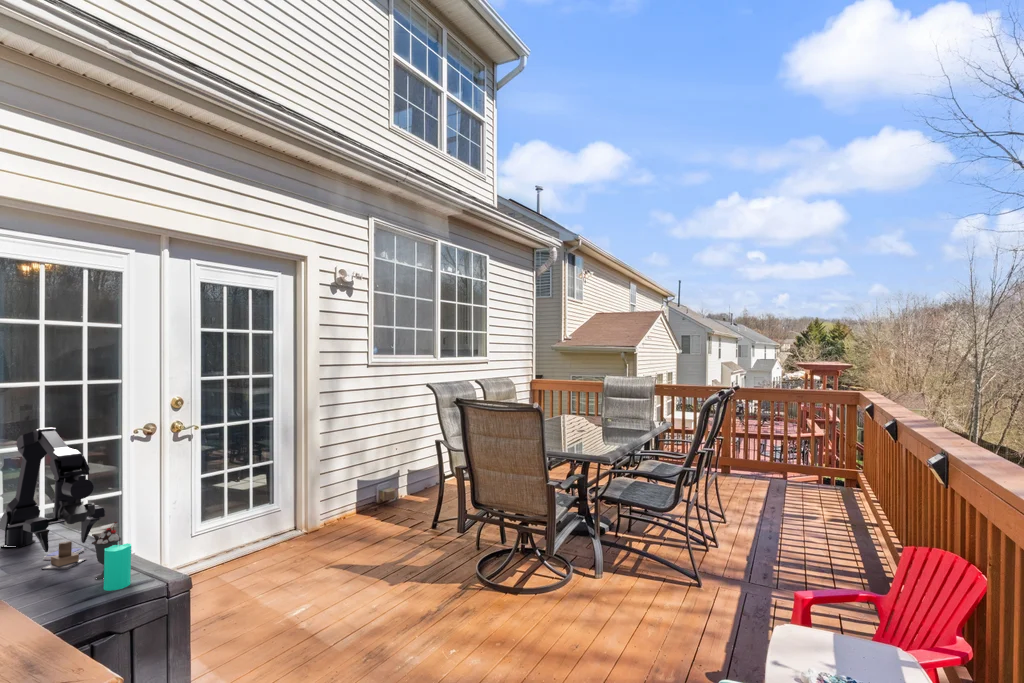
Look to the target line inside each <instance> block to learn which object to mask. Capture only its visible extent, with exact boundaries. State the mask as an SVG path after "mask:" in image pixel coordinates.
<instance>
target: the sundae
mask: <svg viewBox="0 0 1024 683" xmlns="http://www.w3.org/2000/svg"><path fill="white" fill-rule="evenodd" d="M117 523H118V521H114V522H113V525H111V526H110V527H107V528H106V530H103V531H102V532H100V533H99V535H98V534H93V538H94V541H92V542H91V544H92V545H93V546H94V547H95V554H96V560H97V562H98V563H99V564H101V565H102V566H104V554H105V548H109V547H111V546H113V545H118V541H119V542H120V541H122V537H121V536H119V534H117V533H116V532H117V530H116V529H114V528H115V525H116V524H117ZM96 576H97V577H96ZM96 576H95V577H96V578H97V579H103V578H104V568H103V570H102V573H100V574H99V575H96Z"/></svg>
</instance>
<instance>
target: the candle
mask: <svg viewBox="0 0 1024 683" xmlns="http://www.w3.org/2000/svg"><path fill="white" fill-rule="evenodd" d="M119 542H120V541H118V545H113V546H111V547H109V548H105V554H104V565H103V569H104V580H103V590H104V591H110V592H111V591H117V590H122V589H124V588H127V587H128V586H130V585H131V577H132V576H131V574H132V571H131V570H132V543H127V542H126V543H124V544H119Z"/></svg>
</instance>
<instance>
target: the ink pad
mask: <svg viewBox="0 0 1024 683" xmlns="http://www.w3.org/2000/svg"><path fill="white" fill-rule="evenodd" d="M82 551H84V552H85V548H82V547H80V548H73V547H72V552H74V553H77V554H78V553H80V552H82ZM82 553H83V552H82ZM80 554H81V553H80ZM56 555H59V549H58V550H56V551H53V552H50V553H49V554H46V555H44V556H43V560H44V561H49V560H50V561H51V557H52V556H56Z"/></svg>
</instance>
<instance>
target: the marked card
mask: <svg viewBox="0 0 1024 683" xmlns="http://www.w3.org/2000/svg"><path fill="white" fill-rule="evenodd" d="M86 559H87V558H79V561H78V562H77V563H74V564H70V565H66V566H63V567H59V568H58V567H56V566H53V565H51V564H49V565H47V566H44V567H42V568H40V569H48V570H69V569H70V568H73V567H74V566H77V565H79V564H81V563H83V562H82V561H84V560H86ZM86 561H87V560H86ZM80 562H81V563H80ZM84 562H85V561H84ZM78 563H79V564H78ZM76 564H77V565H76ZM72 566H73V567H72Z"/></svg>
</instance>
